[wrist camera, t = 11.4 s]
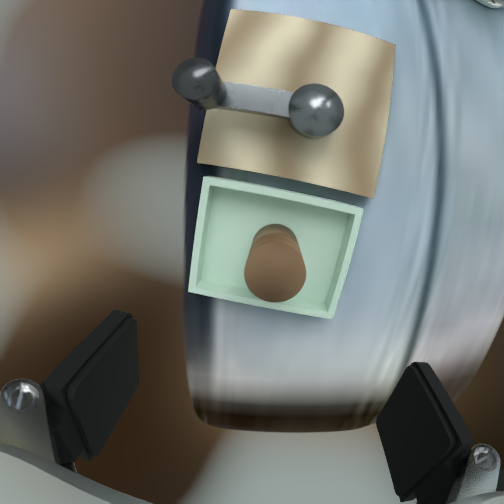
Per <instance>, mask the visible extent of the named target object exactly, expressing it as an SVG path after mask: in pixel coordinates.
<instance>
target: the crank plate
mask: <svg viewBox="0 0 504 504" xmlns="http://www.w3.org/2000/svg"><path fill="white" fill-rule="evenodd" d="M394 59H395V44H392V43H389V42H387V41H384V40H381V39H378V38H376V37H373V36H370V35H367V34H363V33H360V32H357V31H354V30H350V29H347V28H343V27H339V26H336V25H332V24H327V23H323V22H319V21H314V20H310V19H305V18H299V17H294V16H288V15H281V14H274V13H267V12H258V11H248V10H234V9H231V11H230V15H229V18H228V22H227V26H226V29H225V33H224V37H223V41H222V45H221V49H220V53H219V57H218V61H217V65H216V71H217V72H218V74H219V76H220V77H221V79H222V81H223V82H230V83H239V84H247V85H254V86H261V87H267V88H273V89H279V90H284V91H290V92H295V91H296V90H297V89H298V88H300V87H301V86H303V85H306V84H312V83H316V84H322V85H325V86H327V87H329V88H331V89H332V90H334V91H335V92H336V93H337V94H338V96H339V97H340V99H341V100H342V103H343V106H344V117H343V120H342V123H341V124H340V126H339V127H338V128H337V129H336V130H335V131H333V132H332V133H330V134H329V135H327V136H325V137H323V138H321V139H307V138H304V137H301V136H300V135H298V134H297V133H296V132H295V131H294V130H293V129H292V128H291V126H290V124H289V122H288V120H286V119H280V118H275V117H269V116H264V115H258V114H251V113H245V112H238V111H230V110H222V109H210V110H207V111H206V116H205V121H204V126H203V131H202V136H201V142H200V147H199V153H198V159H197V163H203V164H209V165H216V166H222V167H229V168H235V169H241V170H246V171H252V172H257V173H263V174H268V175H273V176H278V177H283V178H288V179H293V180H298V181H303V182H307V183H312V184H316V185H320V186H325V187H329V188H333V189H337V190H342V191H346V192H350V193H353V194H357V195H361V196H365V197H369V198H373V199H374V194H375V190H376V185H377V180H378V175H379V170H380V165H381V160H382V154H383V149H384V143H385V137H386V130H387V123H388V116H389V109H390V101H391V92H392V83H393V72H394Z"/></svg>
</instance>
